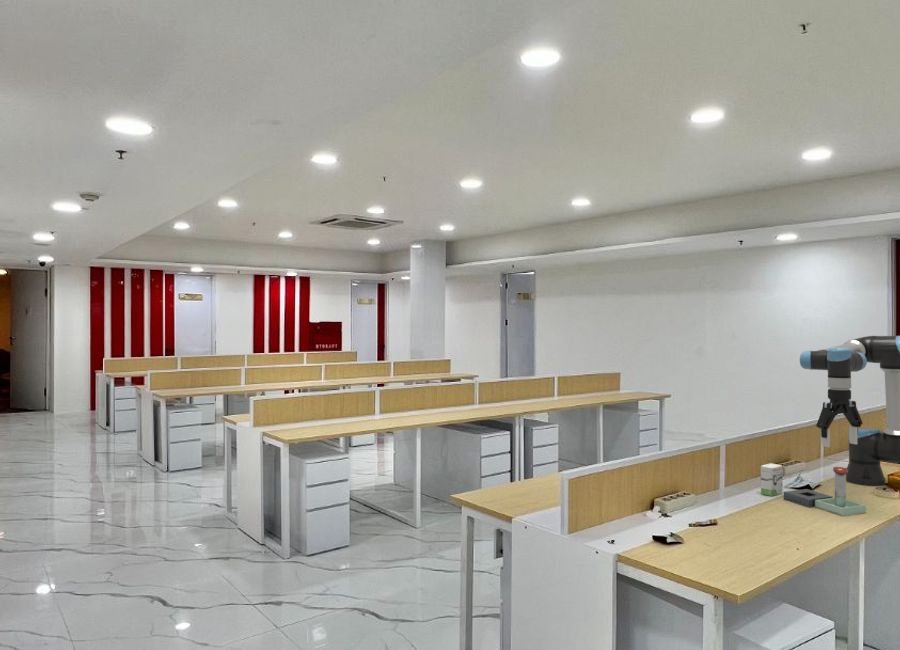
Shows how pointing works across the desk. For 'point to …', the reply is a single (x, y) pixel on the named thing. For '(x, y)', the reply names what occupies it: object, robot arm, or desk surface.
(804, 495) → the block
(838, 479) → the red capped clear bottle
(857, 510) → the tray
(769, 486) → the ink box
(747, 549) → the desk surface
